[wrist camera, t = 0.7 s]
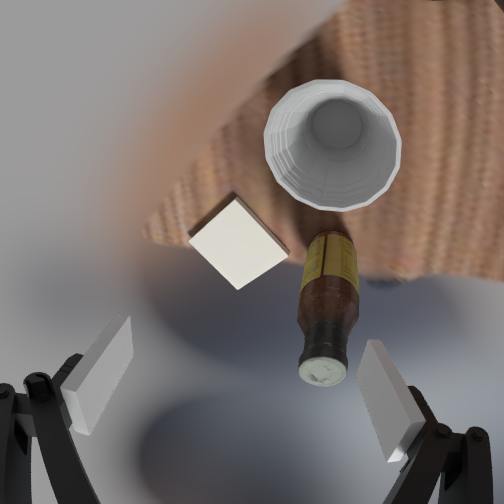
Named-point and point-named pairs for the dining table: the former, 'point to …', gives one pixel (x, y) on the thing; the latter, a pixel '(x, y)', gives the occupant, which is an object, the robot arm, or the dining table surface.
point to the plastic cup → (332, 145)
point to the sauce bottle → (328, 307)
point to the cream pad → (239, 244)
